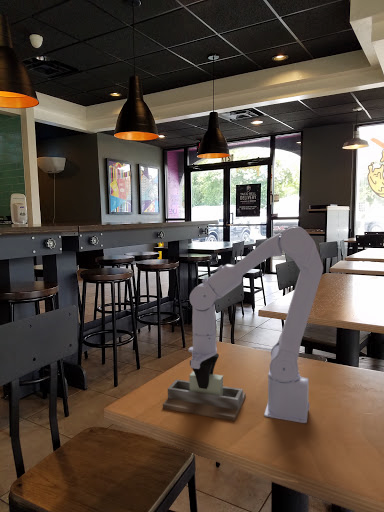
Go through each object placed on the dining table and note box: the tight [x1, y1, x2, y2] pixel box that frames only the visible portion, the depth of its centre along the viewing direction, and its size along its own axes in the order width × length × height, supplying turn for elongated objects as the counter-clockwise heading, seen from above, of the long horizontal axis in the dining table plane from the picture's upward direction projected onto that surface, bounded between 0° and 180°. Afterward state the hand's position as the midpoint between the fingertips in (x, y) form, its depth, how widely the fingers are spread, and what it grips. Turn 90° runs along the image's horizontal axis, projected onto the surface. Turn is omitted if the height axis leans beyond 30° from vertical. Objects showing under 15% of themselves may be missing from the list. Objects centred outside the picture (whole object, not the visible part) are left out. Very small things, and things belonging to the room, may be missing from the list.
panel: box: [188, 370, 224, 396], centre depth 92 cm, size 8×2×6 cm, turn 70°
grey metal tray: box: [162, 378, 247, 422], centre depth 93 cm, size 18×12×4 cm, turn 70°
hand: (205, 385), depth 93 cm, fingers closed on panel, 2 cm apart
